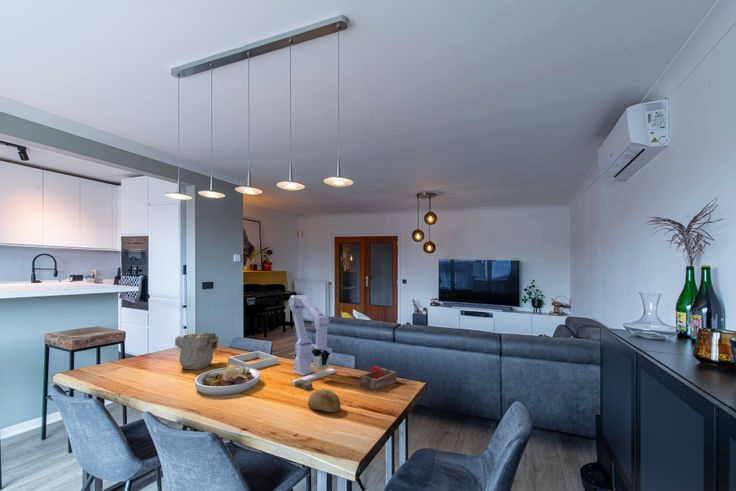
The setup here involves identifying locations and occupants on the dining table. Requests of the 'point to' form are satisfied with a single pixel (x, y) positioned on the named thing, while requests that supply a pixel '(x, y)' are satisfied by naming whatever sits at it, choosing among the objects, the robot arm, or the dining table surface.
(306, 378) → the white flat plank
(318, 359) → the cabinet block
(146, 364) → the dining table surface
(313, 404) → the bread roll
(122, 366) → the dining table surface
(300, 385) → the cleat
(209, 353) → the ceramic vessel
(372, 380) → the wooden box
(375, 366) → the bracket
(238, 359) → the frame
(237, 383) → the bowl
